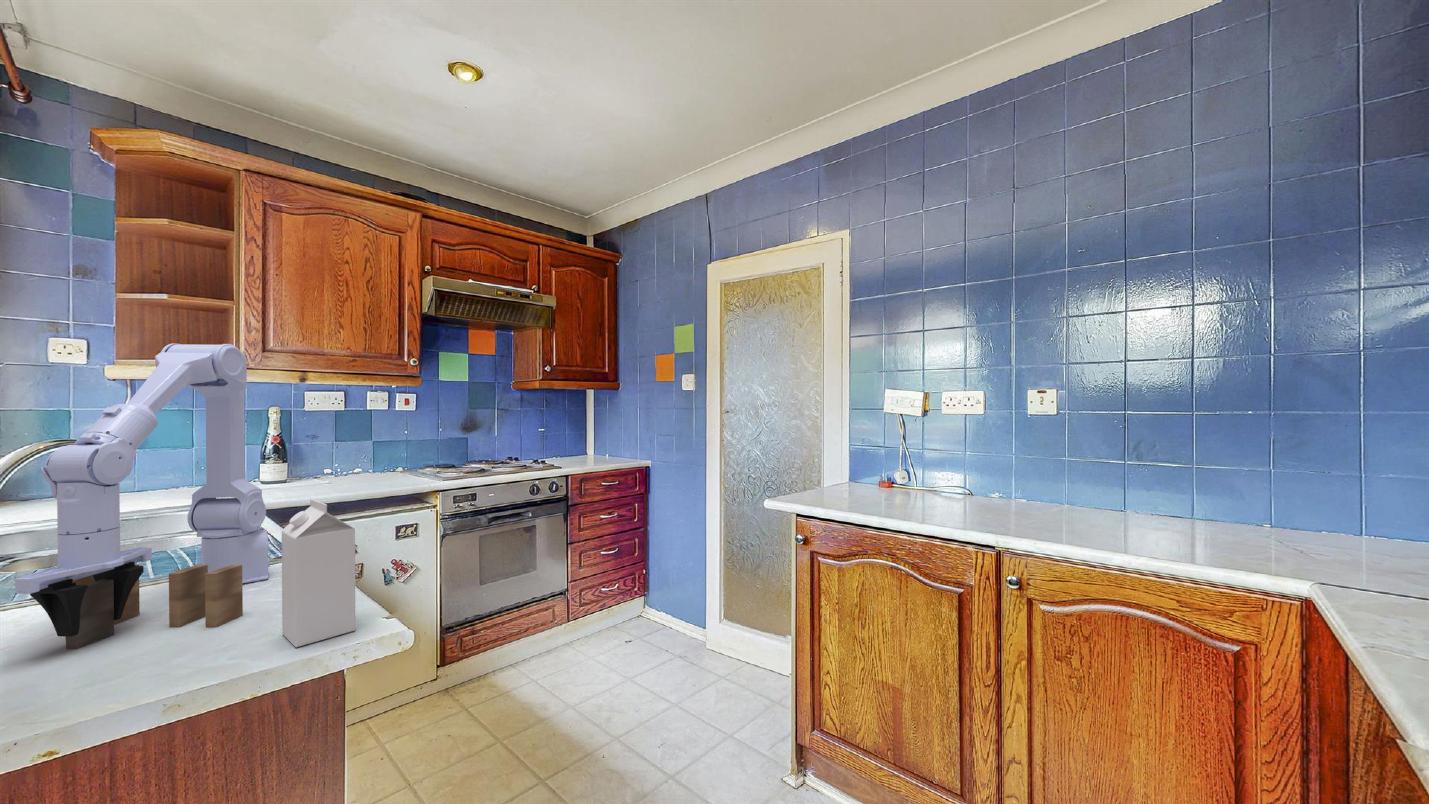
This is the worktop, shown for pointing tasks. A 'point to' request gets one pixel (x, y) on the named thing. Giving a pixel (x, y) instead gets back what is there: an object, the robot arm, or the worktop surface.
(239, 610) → the domino
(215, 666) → the worktop surface
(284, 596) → the milk carton
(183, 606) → the domino
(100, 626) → the ebony domino
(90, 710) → the worktop surface
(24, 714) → the worktop surface
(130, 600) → the domino
